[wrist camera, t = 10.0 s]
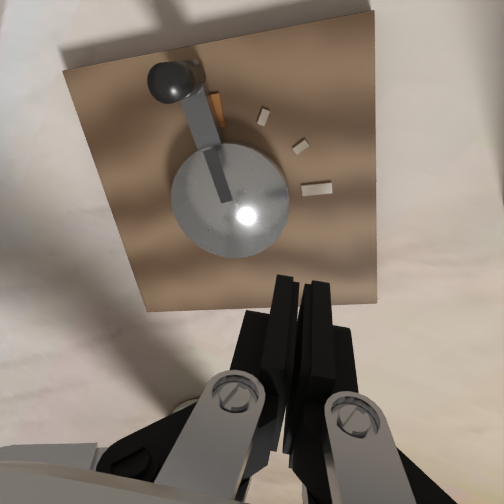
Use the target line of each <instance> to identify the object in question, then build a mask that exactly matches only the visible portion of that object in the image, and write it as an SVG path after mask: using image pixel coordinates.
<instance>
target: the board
mask: <svg viewBox="0 0 504 504" xmlns="http://www.w3.org/2000/svg"><path fill="white" fill-rule="evenodd" d="M195 59H198V60H199V63H200V65H201V66H202V67H203V69H204V71H205V74H206V85H207V88H208V91H209V94H210V97H211V100H212V103H213V107H214V110H215V113H216V116H217V119H218V122H219V125H220V128H221V131H222V134H223V137H224V140H237V141H242V142H246V143H249V144H252V145H254V146H256V147H258V148H260V149H262V150H263V151H265V152H266V153H267V154H269V155H270V156H271V157H272V158H273V159H274V160H275V161H276V162H277V164H278V165H279V166H280V168H281V169H282V171H283V173H284V175H285V177H286V179H287V182H288V185H289V191H290V208H289V213H288V218H287V222H286V225H285V227H284V229H283V231H282V233H281V235H280V236H279V237H278V239H277V240H276V241H275V242H274V243H273V244H272V245H271V246H270V247H268V248H267V249H265V250H264V251H262V252H260V253H258V254H255V255H252V256H248V257H243V258H227V257H222V256H217V255H215V254H212V253H209V252H207V251H205V250H203V249H202V248H200V247H198V246H197V245H196V244H195V243H193V242H192V241H191V240H190V239H189V238H188V237H187V236H186V235H185V233H184V232H183V231H182V229H181V228H180V226H179V225H178V223H177V221H176V219H175V216H174V213H173V209H172V204H171V189H172V184H173V180H174V177H175V175H176V173H177V171H178V169H179V168H180V167H181V165H182V164H183V163H184V162H185V161H186V160H187V159H188V158H189V157H190V156H191V155H192V154H193V153H195V152H196V151H197V147H196V144H195V141H194V138H193V136H192V133H191V130H190V127H189V125H188V122H187V119H186V116H185V113H184V111H183V108H182V105H181V102H180V101H177V102H175V103H172V104H164V103H161V102H159V101H157V100H156V99H155V98H154V97H153V96H152V95H151V93H150V91H149V89H148V85H147V76H148V73H149V71H150V69H151V68H152V67H153V66H154V65H155V64H157V63H160V62H171V61H183V60H195ZM62 72H63V75H64V77H65V80H66V83H67V86H68V89H69V92H70V94H71V97H72V100H73V103H74V106H75V109H76V111H77V114H78V117H79V120H80V123H81V126H82V129H83V131H84V134H85V137H86V140H87V143H88V146H89V148H90V151H91V154H92V157H93V160H94V163H95V165H96V168H97V171H98V174H99V177H100V180H101V182H102V185H103V188H104V191H105V194H106V197H107V200H108V202H109V205H110V208H111V211H112V214H113V217H114V219H115V222H116V225H117V228H118V231H119V234H120V236H121V239H122V242H123V245H124V248H125V251H126V253H127V256H128V259H129V262H130V265H131V268H132V271H133V273H134V276H135V279H136V282H137V285H138V288H139V290H140V293H141V296H142V299H143V302H144V305H145V307H146V310H147V312H164V311H190V310H217V309H243V308H270V307H271V304H272V299H273V293H274V287H275V282H276V276H277V274H279V275H285V276H292V277H294V279H293V281H294V282H300V286H299V300H298V306H300V304H301V299H302V294H303V289H304V285H305V283H306V284H311V282H312V280H316V281H322V282H328V283H330V292H331V305H349V304H375V303H377V239H376V130H375V20H374V10H372V11H367V12H362V13H356V14H351V15H346V16H341V17H336V18H331V19H326V20H321V21H315V22H310V23H305V24H300V25H295V26H290V27H285V28H280V29H274V30H269V31H264V32H259V33H254V34H249V35H244V36H239V37H233V38H228V39H223V40H218V41H213V42H208V43H203V44H198V45H192V46H187V47H182V48H177V49H172V50H167V51H162V52H156V53H151V54H146V55H141V56H136V57H131V58H126V59H121V60H115V61H110V62H105V63H100V64H95V65H90V66H85V67H80V68H74V69H69V70H64V71H62Z"/></svg>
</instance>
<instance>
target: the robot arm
mask: <svg viewBox="0 0 504 504" xmlns="http://www.w3.org/2000/svg"><path fill="white" fill-rule="evenodd" d="M293 279H294V277H292V276H285V275H279V274H277V276H276V282H275V287H274V293H273V299H272V304H271V310H270V314H266V313H260V312H255V311H249V310H246V312H245V316H244V319H243V323H242V327H241V330H240V334H239V337H238V341H237V345H236V348H235V352H234V356H233V359H232V363H231V367H230V370H227V371H224V372H221V373H218V374H217V375H215V376H214V377H212V379H211V380H210V381H209V382H208V384H207V385H206V387H205V389H204V391H203V393H202V395H201V396H200V398H199V399H193V400H189V401H186V402H184V403H182V404H180V405H179V406H178V407H176V408H175V410H174V411H173V412H172V414H171V415H169V416H167V417H165V418H163V419H161V420H159V421H157V422H155V423H153V424H151V425H149V426H147V427H145V428H143V429H140V430H138V431H136V432H134V433H132V434H130V435H128V436H126V437H124V438H122V439H120V440H119V441H117V442H116V443H114V444H113V445H111V446H110V447H109V448H98V445H97V443H80V444H34V445H11V446H5V447H1V448H0V504H249V503H245V499H246V496H247V493H248V490H249V486H250V483H251V478H252V475H254V474H255V473H256V472H258V471H259V470H261V469H262V468H264V467H265V466H267V465H268V460H269V455H270V451H275V452H276V451H277V446H278V442H279V437H280V432H281V428H282V423H283V418H284V413H285V409H286V415H285V427H284V438H283V453H285V454H289V455H290V456H289V468H292V470H293V472H294V473H295V474H296V475H297V477H298V478H299V479H300V480H301V482H302V483H303V484H302V499H303V504H457V503H456V502H455V501H454V500H453V499H452V498H451V497H450V496H449V495H448V494H446V493H445V492H444V491H443V490H442V489H441V488H440V487H439V486H438V485H437V484H436V483H435V482H434V481H432V480H431V479H430V478H429V477H428V476H427V475H426V474H425V473H424V472H423V471H422V470H421V469H420V468H418V467H417V466H416V465H415V464H414V463H413V462H412V461H411V460H410V459H409V458H408V457H407V456H406V455H405V454H403V453H402V452H401V451H400V450H399V449H398V448H397V447H396V445H395V442H394V440H393V437H392V434H391V431H390V428H389V426H388V423H387V420H386V418H385V416H384V414H383V412H382V410H381V409H380V408H379V407H378V406H377V405H376V403H375V402H373V401H372V400H370V399H369V398H368V397H366V396H364V395H361V394H359V392H358V384H357V376H356V368H355V360H354V352H353V345H352V337H351V331H350V329H349V328H346V327H340V326H335V325H333V324H332V308H331V292H330V283H328V282H322V281H316V280H312V282H311V284H306V283H305V285H304V289H303V294H302V299H301V304H300V309H299V314H298V300H299V286H300V282H294V281H293ZM297 314H298V319H297Z"/></svg>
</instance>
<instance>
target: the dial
mask: <svg viewBox="0 0 504 504" xmlns="http://www.w3.org/2000/svg"><path fill="white" fill-rule="evenodd" d="M147 85H148V89H149V91H150V93H151V95H152V96H153V97H154V98H155V99H156V100H157V101H159V102H161V103H164V104H172V103H175V102H177V101H180V102H181V105H182V108H183V111H184V113H185V116H186V119H187V122H188V125H189V127H190V130H191V133H192V136H193V138H194V141H195V144H196V147H197V151H196V152H195V153H193V154H192V155H191V156H190V157H189V158H188V159H187V160H186V161H185V162H184V163H183V164H182V165H181V167H180V168H179V169H178V171H177V173H176V175H175V177H174V180H173V184H172V189H171V204H172V209H173V213H174V216H175V219H176V221H177V223H178V225H179V226H180V228H181V229H182V231H183V232H184V233H185V235H186V236H187V237H188V238H189V239H190V240H191V241H192V242H193V243H195V244H196V245H197V246H198V247H200V248H202V249H203V250H205V251H207V252H209V253H212V254H215V255H217V256H222V257H227V258H243V257H248V256H252V255H255V254H258V253H260V252H262V251H264V250H265V249H267V248H268V247H270V246H271V245H272V244H273V243H274V242H275V241H276V240H277V239H278V237H279V236H280V235H281V233H282V231H283V229H284V227H285V225H286V222H287V218H288V213H289V208H290V191H289V185H288V182H287V179H286V177H285V175H284V173H283V171H282V169H281V168H280V166H279V165H278V164H277V162H276V161H275V160H274V159H273V158H272V157H271V156H270V155H269V154H267V153H266V152H265V151H263V150H262V149H260V148H258V147H256V146H254V145H252V144H249V143H246V142H242V141H237V140H224V137H223V134H222V131H221V128H220V125H219V122H218V119H217V116H216V113H215V110H214V107H213V103H212V100H211V97H210V94H209V91H208V88H207V85H206V74H205V71H204V69H203V67H202V66H201V65H200V63H199V60H198V59H195V60H183V61H171V62H160V63H157V64H155V65H154V66H153V67H152V68H151V69H150V71H149V73H148V76H147Z"/></svg>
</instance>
